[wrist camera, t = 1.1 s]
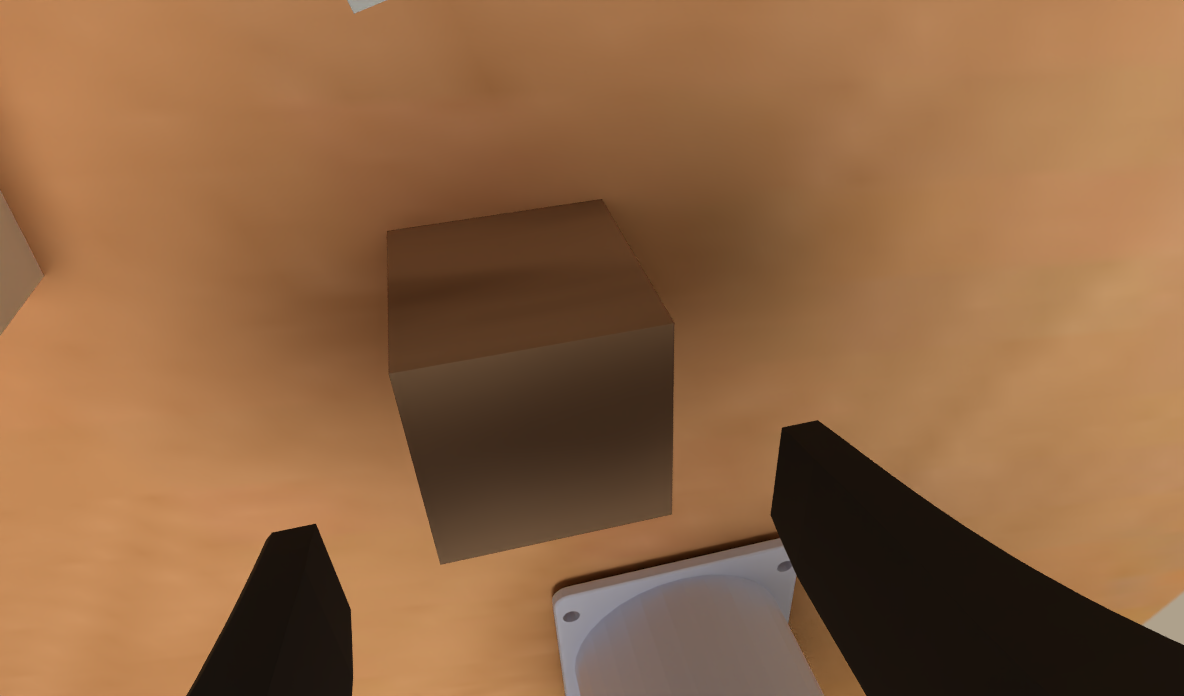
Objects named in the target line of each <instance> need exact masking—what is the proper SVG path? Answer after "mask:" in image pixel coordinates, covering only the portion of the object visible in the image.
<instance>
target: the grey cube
mask: <svg viewBox="0 0 1184 696" xmlns="http://www.w3.org/2000/svg"><path fill="white" fill-rule="evenodd" d="M383 1H386V0H348V3H349V5H350V7H351V9H352V11H353V13H357V12H359V11H362V10H364V9H367V8H369V7H371V6H374V5H376V4H379V3H381V2H383Z"/></svg>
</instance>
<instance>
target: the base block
mask: <svg viewBox="0 0 1184 696" xmlns="http://www.w3.org/2000/svg"><path fill="white" fill-rule="evenodd" d="M43 277H44V274H43V273H42V271H41V269H40V267H39V265H38V263H37V261H36V259H35V257H34V255H33V253H32V251H31V249H30V247H29V245H28V243H27V241H26V239H25V237H24V235H23V233H22V231H21V229H20V227H19V225H18V224H17V222H16V220H15V218H14V216H13V214H12V212H11V210H10V208H9V206H8V204H7V202H6V200H5V198H4V196H3V194H2V192H1V190H0V335H1V334H2V333H3V331H4V330H5V329H6V327H7V326H8V325H9V323H10V322H11V320H12V319H13V318H14V316H15V315H16V314H17V312H18V311H19V310H20V308H21V307H22V305H23V304H24V303H25V301H26V300H27V299H28V297H29V296H30V295H31V293H32V292H33V290H34V289H35V288H36V286H37V285H38V284H39V282H40V281H41V280H42V278H43Z"/></svg>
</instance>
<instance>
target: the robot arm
mask: <svg viewBox="0 0 1184 696" xmlns="http://www.w3.org/2000/svg"><path fill="white" fill-rule="evenodd" d="M771 517H772V519H773V522H774V524H775V527H776V529H777V532H778V534H779V536H780V538H778V539H773V540H769V541H764V542H760V543H756V544H751V545H747V546H743V547H738V548H734V549H729V550H725V551H721V552H716V553H712V554H708V555H703V556H699V557H695V558H690V559H686V560H681V561H677V562H673V563H668V564H664V565H660V566H655V567H651V568H646V569H642V570H638V571H633V572H629V573H625V574H620V575H616V576H612V577H607V578H603V579H598V580H594V581H590V582H585V583H581V584H577V585H572V586H568V587H565V588H562V589H560V590H559V591H557V592H556V593H555V594H554V596H553V598H552V605H553V612H554V619H555V626H556V633H557V640H558V647H559V655H560V662H561V669H562V676H563V683H564V690H565V696H824V694H823V692H822V690H821V688H820V686H819V684H818V682H817V680H816V678H815V676H814V674H813V672H812V670H811V668H810V666H809V664H808V662H807V661H806V659H805V657H804V655H803V653H802V651H801V649H800V647H799V645H798V643H797V641H796V639H795V637H794V635H793V633H792V631H791V629H790V627H789V625H788V622H789V616H790V610H791V604H792V598H793V592H794V586H795V580H796V575H797V577H798V578H799V580H800V582H801V584H802V586H803V587H804V589H805V591H806V593H807V594H808V596H809V598H810V600H811V601H812V603H813V605H814V606H815V608H816V610H817V612H818V613H819V615H820V617H821V619H822V620H823V622H824V624H825V625H826V627H827V629H828V631H829V632H830V634H831V636H832V637H833V639H834V641H835V643H836V644H837V646H838V648H839V649H840V651H841V653H842V655H843V656H844V658H845V660H846V661H847V663H848V665H849V667H850V668H851V670H852V672H853V673H854V675H855V677H856V679H857V680H858V682H859V684H860V685H861V687H862V689H863V691H864V692H865V694H866V696H1184V645H1182V644H1180V643H1178V642H1176V641H1173V640H1171V639H1169V638H1167V637H1165V636H1163V635H1161V634H1159V633H1157V632H1155V631H1152V630H1150V629H1148V628H1146V627H1144V626H1142V625H1140V624H1138V623H1136V622H1134V621H1132V620H1130V619H1128V618H1126V617H1123V616H1121V615H1119V614H1117V613H1115V612H1113V611H1111V610H1109V609H1107V608H1105V607H1103V606H1101V605H1099V604H1097V603H1096V602H1094V601H1092V600H1090V599H1088V598H1086V597H1084V596H1082V595H1080V594H1078V593H1077V592H1075V591H1073V590H1071V589H1069V588H1068V587H1066V586H1064V585H1062V584H1060V583H1058V582H1057V581H1055V580H1053V579H1051V578H1049V577H1048V576H1046V575H1044V574H1042V573H1040V572H1039V571H1037V570H1035V569H1033V568H1031V567H1030V566H1028V565H1026V564H1025V563H1023V562H1021V561H1020V560H1018V559H1016V558H1015V557H1013V556H1011V555H1010V554H1008V553H1006V552H1005V551H1003V550H1002V549H1000V548H998V547H997V546H995V545H994V544H992V543H990V542H989V541H987V540H986V539H984V538H983V537H981V536H979V535H978V534H976V533H975V532H973V531H972V530H970V529H968V528H967V527H965V526H964V525H962V524H961V523H959V522H958V521H956V520H955V519H953V518H952V517H950V516H949V515H947V514H946V513H944V512H943V511H941V510H940V509H938V508H937V507H936V506H934V505H933V504H931V503H930V502H928V501H927V500H926V499H924V498H923V497H921V496H920V495H918V494H917V493H916V492H914V491H913V490H911V489H910V488H909V487H907V486H906V485H904V484H903V483H902V482H900V481H899V480H897V479H896V478H895V477H893V476H892V475H891V474H889V473H888V472H887V471H885V470H884V469H883V468H881V467H880V466H878V465H877V464H876V463H874V462H873V461H872V460H870V459H869V458H868V457H866V456H865V455H864V454H862V453H861V452H860V451H858V450H857V449H856V448H854V447H853V446H852V445H850V444H849V443H848V442H846V441H845V440H844V439H842V438H841V437H840V436H838V435H837V434H836V433H834V432H833V431H832V430H830V429H829V428H828V427H826V426H825V425H823V424H822V423H821V422H819V421H818V420H817V421H812V422H807V423H802V424H797V425H792V426H788V427H783V428H782V432H781V439H780V447H779V455H778V462H777V470H776V478H775V485H774V493H773V501H772V508H771ZM352 686H353V655H352V629H351V609H350V607H349V604H348V602H347V599H346V597H345V594H344V592H343V589H342V587H341V584H340V582H339V579H338V577H337V575H336V572H335V570H334V567H333V565H332V562H331V560H330V557H329V555H328V552H327V550H326V548H325V545H324V543H323V540H322V538H321V535H320V533H319V530H318V528H317V525H316V524H312V525H307V526H302V527H297V528H293V529H288V530H283V531H278V532H273V533H272V534H271V535H270V536H269V537H268V538H267V540H266V542H265V544H264V546H263V548H262V550H261V553H260V555H259V557H258V559H257V561H256V563H255V565H254V568H253V570H252V572H251V574H250V576H249V578H248V580H247V582H246V584H245V586H244V588H243V590H242V592H241V594H240V597H239V599H238V600H237V602H236V604H235V606H234V608H233V610H232V612H231V614H230V616H229V618H228V620H227V622H226V624H225V626H224V628H223V630H222V632H221V634H220V635H219V637H218V639H217V641H216V643H215V645H214V647H213V648H212V650H211V652H210V654H209V656H208V658H207V660H206V661H205V663H204V665H203V667H202V669H201V671H200V672H199V674H198V676H197V678H196V680H195V681H194V683H193V685H192V687H191V689H190V690H189V692H188V694H187V695H186V696H352Z"/></svg>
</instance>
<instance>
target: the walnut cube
mask: <svg viewBox="0 0 1184 696" xmlns="http://www.w3.org/2000/svg"><path fill="white" fill-rule="evenodd" d="M387 266H388V352H389V377H390V380H391V384H392V388H393V391H394V395H395V399H396V402H397V406H398V410H399V413H400V417H401V421H402V424H403V428H404V432H405V436H406V439H407V443H408V447H409V450H410V454H411V458H412V461H413V465H414V469H415V472H416V476H417V480H418V484H419V487H420V491H421V495H422V498H423V502H424V506H425V509H426V513H427V517H428V520H429V524H430V528H431V532H432V535H433V539H434V543H435V546H436V550H437V554H438V557H439V561H440V565H442V564H446V563H451V562H455V561H460V560H465V559H469V558H474V557H478V556H483V555H488V554H492V553H497V552H501V551H506V550H510V549H515V548H520V547H524V546H529V545H533V544H538V543H543V542H547V541H552V540H556V539H561V538H566V537H570V536H575V535H579V534H584V533H589V532H593V531H598V530H602V529H607V528H611V527H616V526H621V525H625V524H630V523H634V522H639V521H644V520H648V519H653V518H657V517H662V516H667V515H671V514H672V467H673V386H674V322H673V320H672V318H671V317H670V315H669V313H668V312H667V310H666V308H665V306H664V305H663V303H662V301H661V300H660V298H659V296H658V295H657V293H656V291H655V289H654V288H653V286H652V284H651V283H650V281H649V279H648V277H647V276H646V274H645V272H644V271H643V269H642V267H641V266H640V264H639V262H638V260H637V259H636V257H635V255H634V254H633V252H632V250H631V248H630V247H629V245H628V243H627V242H626V240H625V238H624V237H623V235H622V233H621V231H620V230H619V228H618V226H617V225H616V223H615V221H614V219H613V218H612V216H611V214H610V213H609V211H608V209H607V207H606V206H605V204H604V202H603V201H602V199H600V200H593V201H586V202H580V203H573V204H566V205H559V206H553V207H546V208H539V209H533V210H526V211H519V212H513V213H506V214H499V215H492V216H486V217H479V218H472V219H466V220H459V221H452V222H445V223H439V224H432V225H425V226H419V227H412V228H405V229H398V230H392V231H387Z"/></svg>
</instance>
